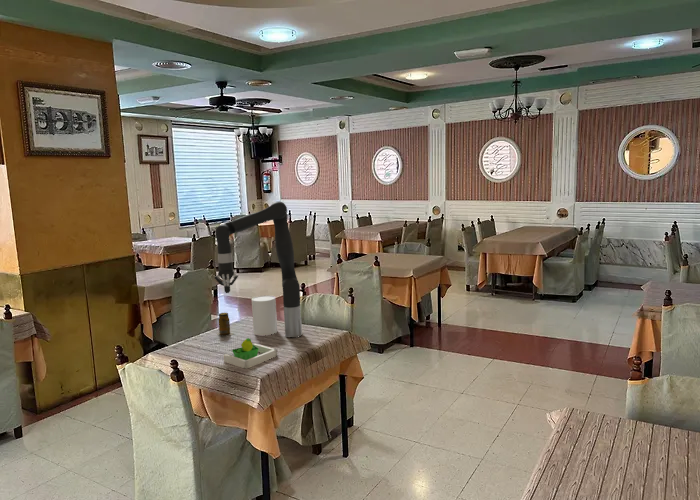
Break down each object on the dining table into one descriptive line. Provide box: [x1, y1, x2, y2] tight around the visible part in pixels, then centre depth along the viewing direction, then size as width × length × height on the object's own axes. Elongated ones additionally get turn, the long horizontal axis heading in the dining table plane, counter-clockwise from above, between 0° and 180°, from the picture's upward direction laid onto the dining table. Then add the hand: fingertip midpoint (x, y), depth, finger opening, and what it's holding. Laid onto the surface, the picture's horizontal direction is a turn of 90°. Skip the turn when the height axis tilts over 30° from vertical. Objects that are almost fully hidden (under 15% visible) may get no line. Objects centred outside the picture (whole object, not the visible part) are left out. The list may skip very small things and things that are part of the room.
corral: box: [223, 343, 279, 370], centre depth 247 cm, size 16×20×4 cm
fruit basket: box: [231, 337, 259, 360], centre depth 246 cm, size 11×9×11 cm
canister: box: [251, 294, 278, 337], centre depth 288 cm, size 14×14×20 cm
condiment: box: [216, 312, 234, 338], centre depth 288 cm, size 7×8×12 cm
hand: (227, 292), depth 273 cm, fingers closed
